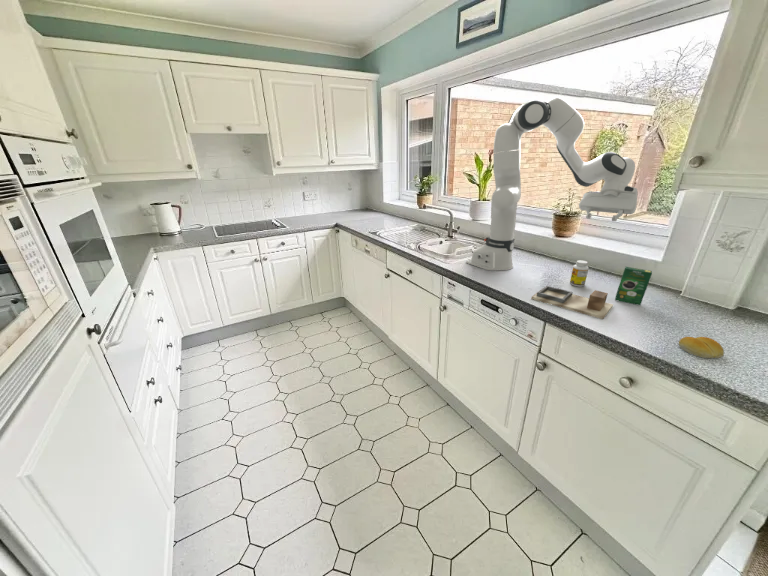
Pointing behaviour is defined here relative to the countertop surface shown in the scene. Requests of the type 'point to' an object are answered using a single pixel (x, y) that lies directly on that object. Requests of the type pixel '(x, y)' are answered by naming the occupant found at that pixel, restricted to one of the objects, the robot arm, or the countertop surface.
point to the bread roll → (701, 347)
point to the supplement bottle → (579, 273)
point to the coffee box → (633, 285)
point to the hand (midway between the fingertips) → (600, 219)
